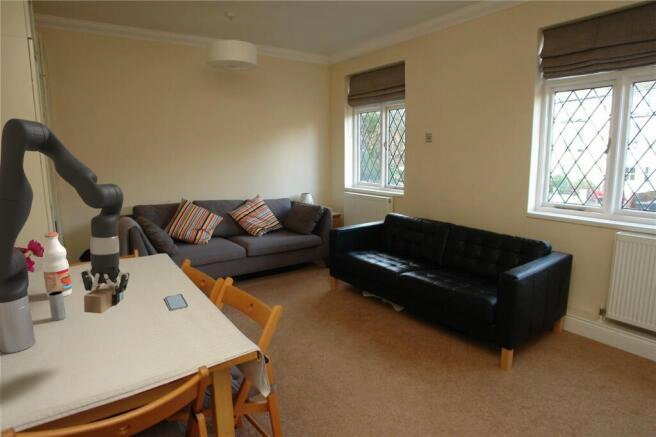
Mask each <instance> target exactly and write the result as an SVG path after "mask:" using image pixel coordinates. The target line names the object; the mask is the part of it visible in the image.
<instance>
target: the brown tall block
mask: <svg viewBox="0 0 656 437" xmlns="http://www.w3.org/2000/svg"><path fill="white" fill-rule="evenodd" d="M119 285H120V283H119ZM124 292H125V291H123V292H122V293H120V302H122V301H123V300H124ZM83 303H84V304H83V309H84V311H83V312H84V313H91V314H103V313H104V312H106V311H107V310H110V308H112V307H113V306H112V291H111V289H110V288H109V286H108V284H105V283H104V284H102V285H101V287H99V288H97V289H96V290H94V291H92V292H91V291H89V292H88V293H86V294H84V295H83Z"/></svg>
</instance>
